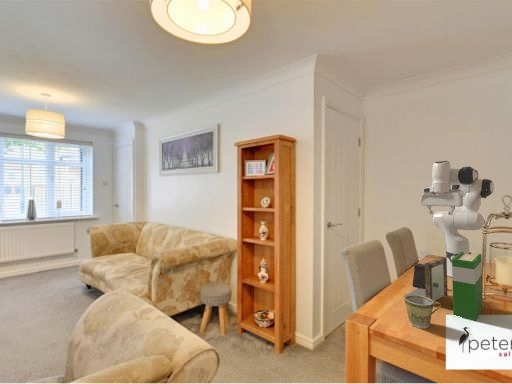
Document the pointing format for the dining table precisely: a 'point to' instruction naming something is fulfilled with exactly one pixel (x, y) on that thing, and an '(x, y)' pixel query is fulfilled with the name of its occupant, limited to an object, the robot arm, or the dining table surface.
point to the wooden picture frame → (429, 275)
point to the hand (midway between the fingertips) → (440, 214)
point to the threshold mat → (418, 292)
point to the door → (437, 282)
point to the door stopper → (419, 276)
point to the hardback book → (467, 285)
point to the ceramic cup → (420, 310)
